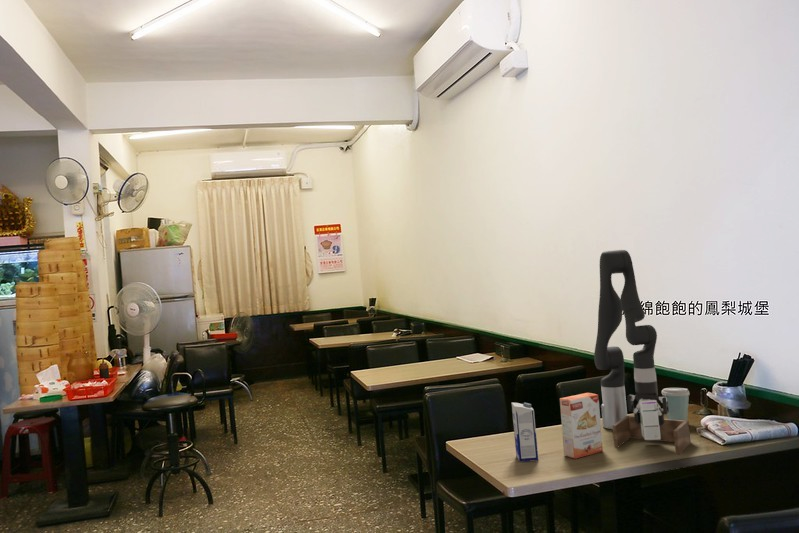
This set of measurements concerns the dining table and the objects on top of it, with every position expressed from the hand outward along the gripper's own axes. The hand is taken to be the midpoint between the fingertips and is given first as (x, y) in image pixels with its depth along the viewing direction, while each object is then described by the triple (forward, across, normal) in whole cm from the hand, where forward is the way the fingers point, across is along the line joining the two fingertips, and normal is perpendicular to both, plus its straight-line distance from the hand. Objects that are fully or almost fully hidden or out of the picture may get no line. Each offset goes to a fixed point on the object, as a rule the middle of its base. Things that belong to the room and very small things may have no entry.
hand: (649, 424), depth 214 cm
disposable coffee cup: (+8, -1, -32) cm, 33 cm away
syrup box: (+5, 0, 0) cm, 5 cm away
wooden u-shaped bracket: (+8, 0, 0) cm, 8 cm away
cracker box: (+8, +18, +19) cm, 27 cm away
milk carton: (+8, +34, +32) cm, 47 cm away
